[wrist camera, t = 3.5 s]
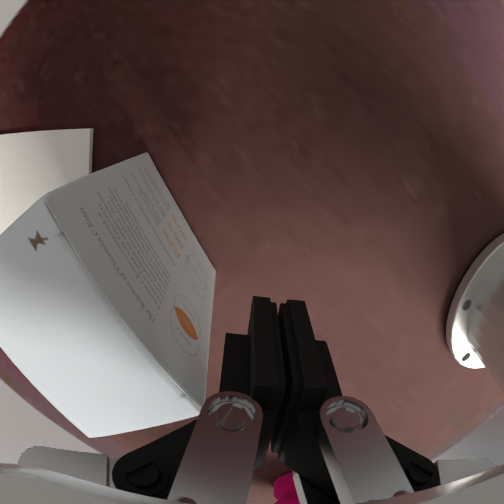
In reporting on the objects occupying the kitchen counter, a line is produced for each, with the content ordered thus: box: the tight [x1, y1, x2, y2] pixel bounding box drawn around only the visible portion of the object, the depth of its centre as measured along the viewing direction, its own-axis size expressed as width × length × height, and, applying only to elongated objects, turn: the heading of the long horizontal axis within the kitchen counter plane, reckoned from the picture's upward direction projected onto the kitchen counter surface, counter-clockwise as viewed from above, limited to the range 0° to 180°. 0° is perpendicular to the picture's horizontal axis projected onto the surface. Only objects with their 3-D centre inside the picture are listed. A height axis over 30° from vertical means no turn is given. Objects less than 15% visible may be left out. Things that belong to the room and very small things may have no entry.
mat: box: [0, 128, 94, 235], centre depth 17 cm, size 10×12×1 cm
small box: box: [0, 153, 216, 438], centre depth 13 cm, size 8×6×10 cm
